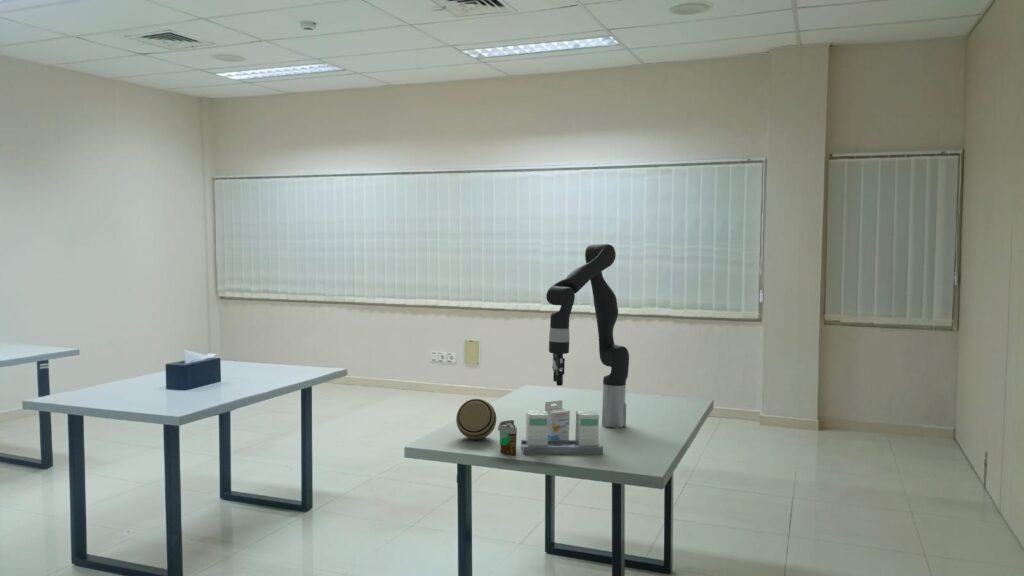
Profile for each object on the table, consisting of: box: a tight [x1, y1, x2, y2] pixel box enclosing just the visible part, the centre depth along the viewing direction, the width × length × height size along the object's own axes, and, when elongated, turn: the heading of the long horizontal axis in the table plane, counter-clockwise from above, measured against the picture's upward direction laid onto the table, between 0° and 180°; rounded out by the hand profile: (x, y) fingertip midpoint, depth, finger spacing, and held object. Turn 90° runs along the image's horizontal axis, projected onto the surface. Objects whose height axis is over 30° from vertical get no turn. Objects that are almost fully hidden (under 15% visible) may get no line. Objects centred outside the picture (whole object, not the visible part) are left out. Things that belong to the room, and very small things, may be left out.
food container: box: [497, 419, 518, 457], centre depth 259 cm, size 12×6×10 cm, turn 5°
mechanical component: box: [455, 398, 497, 440], centre depth 276 cm, size 15×15×15 cm
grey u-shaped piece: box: [520, 410, 604, 455], centre depth 262 cm, size 28×10×14 cm, turn 94°
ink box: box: [544, 400, 571, 440], centre depth 275 cm, size 8×5×15 cm, turn 123°
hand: (557, 383), depth 274 cm, fingers open, 8 cm apart
